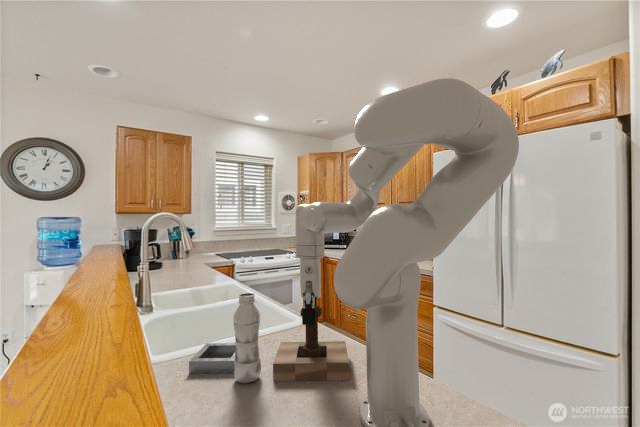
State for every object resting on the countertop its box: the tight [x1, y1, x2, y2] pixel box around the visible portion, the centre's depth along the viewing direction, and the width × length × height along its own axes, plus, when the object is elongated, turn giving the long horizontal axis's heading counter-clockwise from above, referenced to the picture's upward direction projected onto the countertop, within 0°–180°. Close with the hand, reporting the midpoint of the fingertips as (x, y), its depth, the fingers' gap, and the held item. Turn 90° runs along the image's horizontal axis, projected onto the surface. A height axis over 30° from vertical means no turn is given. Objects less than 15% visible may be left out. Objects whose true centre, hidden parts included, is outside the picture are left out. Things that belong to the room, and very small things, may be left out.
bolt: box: [300, 305, 323, 358], centre depth 72 cm, size 6×5×15 cm
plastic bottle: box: [232, 292, 262, 384], centre depth 67 cm, size 6×7×20 cm
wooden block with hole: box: [272, 340, 351, 382], centre depth 72 cm, size 12×18×4 cm, turn 89°
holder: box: [188, 342, 236, 375], centre depth 75 cm, size 10×12×3 cm
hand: (309, 317), depth 72 cm, fingers open, 9 cm apart
